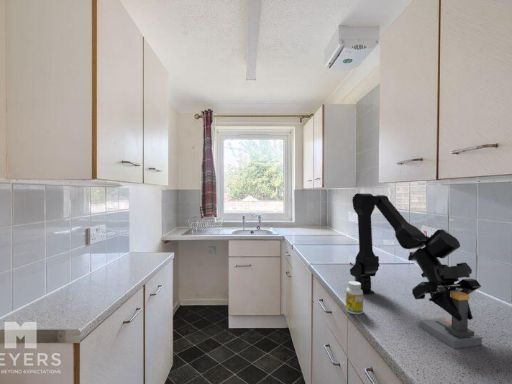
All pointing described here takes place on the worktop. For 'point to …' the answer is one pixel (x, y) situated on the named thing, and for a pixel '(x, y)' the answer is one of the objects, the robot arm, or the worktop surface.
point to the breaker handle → (461, 326)
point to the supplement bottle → (354, 298)
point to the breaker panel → (448, 333)
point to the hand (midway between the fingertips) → (465, 319)
